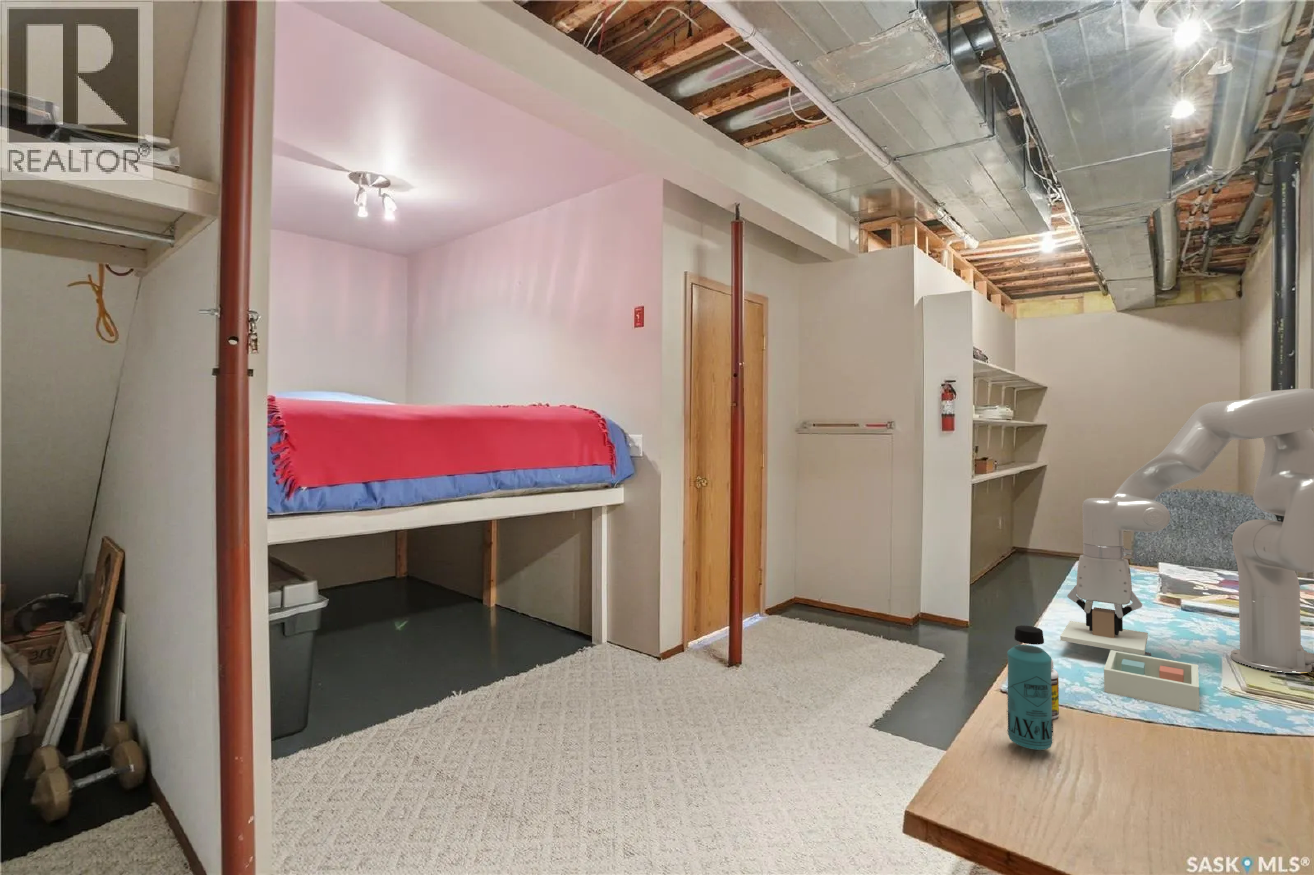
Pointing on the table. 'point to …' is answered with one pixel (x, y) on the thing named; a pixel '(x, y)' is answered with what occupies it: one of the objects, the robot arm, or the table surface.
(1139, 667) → the teal block
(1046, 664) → the beverage bottle
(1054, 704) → the supplement bottle
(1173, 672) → the red block
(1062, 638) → the lid
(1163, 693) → the box
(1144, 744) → the table surface
